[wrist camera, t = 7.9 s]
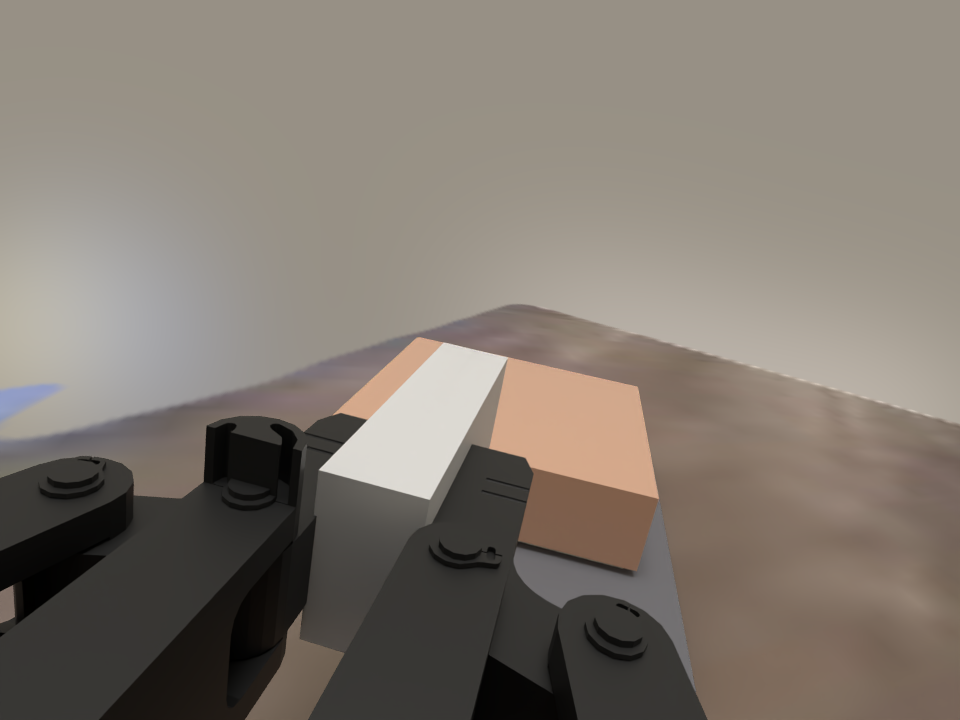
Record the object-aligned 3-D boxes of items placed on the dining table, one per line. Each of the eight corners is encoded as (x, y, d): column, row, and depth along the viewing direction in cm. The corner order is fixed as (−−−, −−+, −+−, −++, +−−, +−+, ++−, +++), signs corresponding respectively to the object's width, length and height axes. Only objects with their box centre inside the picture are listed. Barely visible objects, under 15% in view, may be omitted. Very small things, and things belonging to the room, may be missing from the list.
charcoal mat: (648, 463, 33) (651, 455, 33) (691, 705, 18) (695, 691, 18) (378, 398, 35) (379, 390, 35) (213, 570, 20) (213, 557, 20)
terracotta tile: (634, 578, 23) (622, 443, 34) (658, 498, 22) (637, 386, 33) (320, 496, 24) (409, 392, 35) (329, 417, 23) (417, 336, 34)
